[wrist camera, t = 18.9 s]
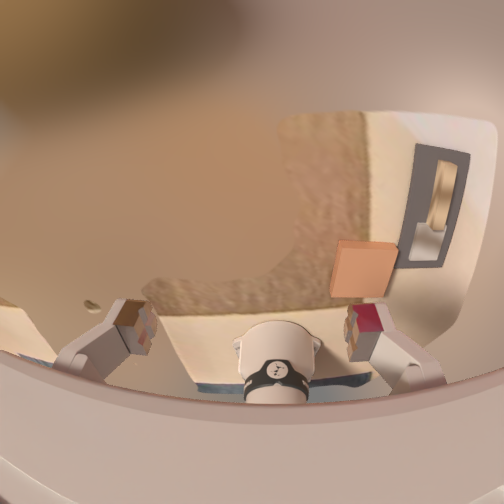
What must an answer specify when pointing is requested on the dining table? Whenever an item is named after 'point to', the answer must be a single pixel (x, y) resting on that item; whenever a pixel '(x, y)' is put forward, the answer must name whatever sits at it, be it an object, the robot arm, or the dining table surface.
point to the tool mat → (422, 197)
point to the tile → (362, 268)
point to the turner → (435, 215)
